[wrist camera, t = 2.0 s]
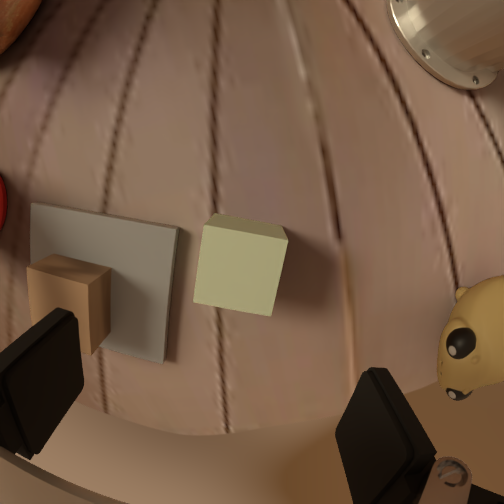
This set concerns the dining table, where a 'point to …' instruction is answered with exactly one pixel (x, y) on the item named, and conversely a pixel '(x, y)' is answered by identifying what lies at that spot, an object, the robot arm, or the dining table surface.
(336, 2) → the dining table surface
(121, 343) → the plate
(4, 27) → the ceramic jug
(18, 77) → the dining table surface
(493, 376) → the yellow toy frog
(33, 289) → the walnut brick
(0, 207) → the canned food
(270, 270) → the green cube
